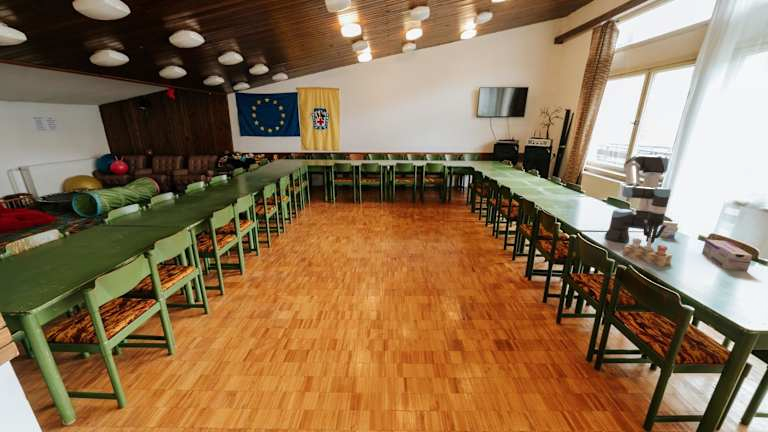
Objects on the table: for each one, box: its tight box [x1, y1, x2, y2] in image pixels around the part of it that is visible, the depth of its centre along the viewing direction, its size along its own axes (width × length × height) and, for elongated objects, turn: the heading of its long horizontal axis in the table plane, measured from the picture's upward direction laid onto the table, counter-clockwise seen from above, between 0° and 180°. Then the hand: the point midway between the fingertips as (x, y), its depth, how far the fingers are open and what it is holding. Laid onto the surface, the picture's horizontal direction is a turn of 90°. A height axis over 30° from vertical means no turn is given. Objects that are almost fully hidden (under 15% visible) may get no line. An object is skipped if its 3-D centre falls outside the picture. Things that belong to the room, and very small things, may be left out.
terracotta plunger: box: [657, 245, 668, 256], centre depth 198 cm, size 5×5×8 cm
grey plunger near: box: [631, 238, 642, 249], centre depth 210 cm, size 5×5×8 cm
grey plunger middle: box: [643, 245, 654, 252], centre depth 205 cm, size 5×5×8 cm
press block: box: [622, 242, 673, 268], centre depth 205 cm, size 22×10×6 cm, turn 27°
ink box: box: [660, 220, 679, 239], centre depth 243 cm, size 9×5×12 cm, turn 58°
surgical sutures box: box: [701, 239, 753, 273], centre depth 198 cm, size 25×11×11 cm, turn 158°
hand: (648, 246), depth 204 cm, fingers closed
